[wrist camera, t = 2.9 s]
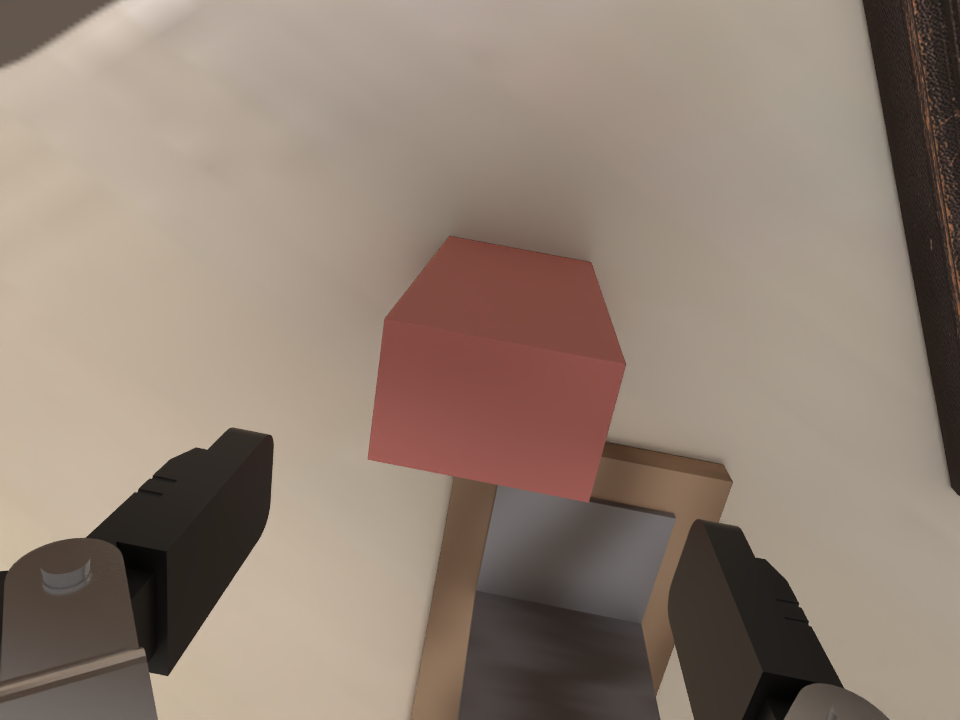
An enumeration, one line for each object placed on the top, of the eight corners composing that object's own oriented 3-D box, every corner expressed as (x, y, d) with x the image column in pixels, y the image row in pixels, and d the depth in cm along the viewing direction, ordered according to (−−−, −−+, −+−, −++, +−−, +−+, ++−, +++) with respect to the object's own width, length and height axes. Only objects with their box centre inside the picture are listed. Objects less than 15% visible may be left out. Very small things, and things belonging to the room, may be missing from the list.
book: (591, 262, 27) (625, 364, 16) (570, 351, 28) (588, 502, 17) (449, 236, 27) (384, 318, 16) (436, 325, 28) (367, 459, 17)
